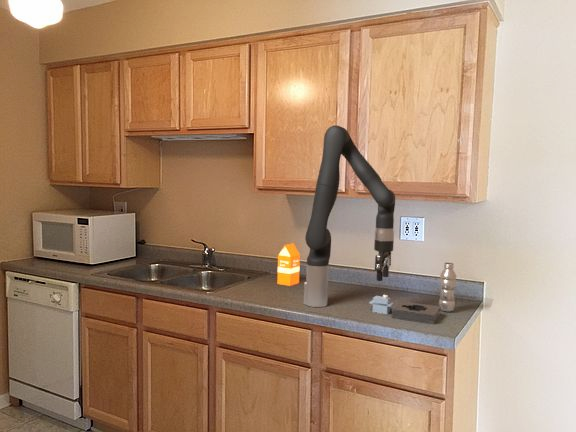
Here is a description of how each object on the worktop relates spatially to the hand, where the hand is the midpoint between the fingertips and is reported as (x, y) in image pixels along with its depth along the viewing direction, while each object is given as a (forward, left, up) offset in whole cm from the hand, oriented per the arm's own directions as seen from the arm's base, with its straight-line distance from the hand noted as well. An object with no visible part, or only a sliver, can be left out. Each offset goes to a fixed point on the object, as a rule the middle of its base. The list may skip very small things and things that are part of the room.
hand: (382, 278), depth 198 cm
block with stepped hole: (+14, +1, -14) cm, 20 cm away
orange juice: (-56, +26, -14) cm, 63 cm away
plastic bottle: (+23, +16, -14) cm, 31 cm away
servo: (0, 0, -14) cm, 14 cm away
